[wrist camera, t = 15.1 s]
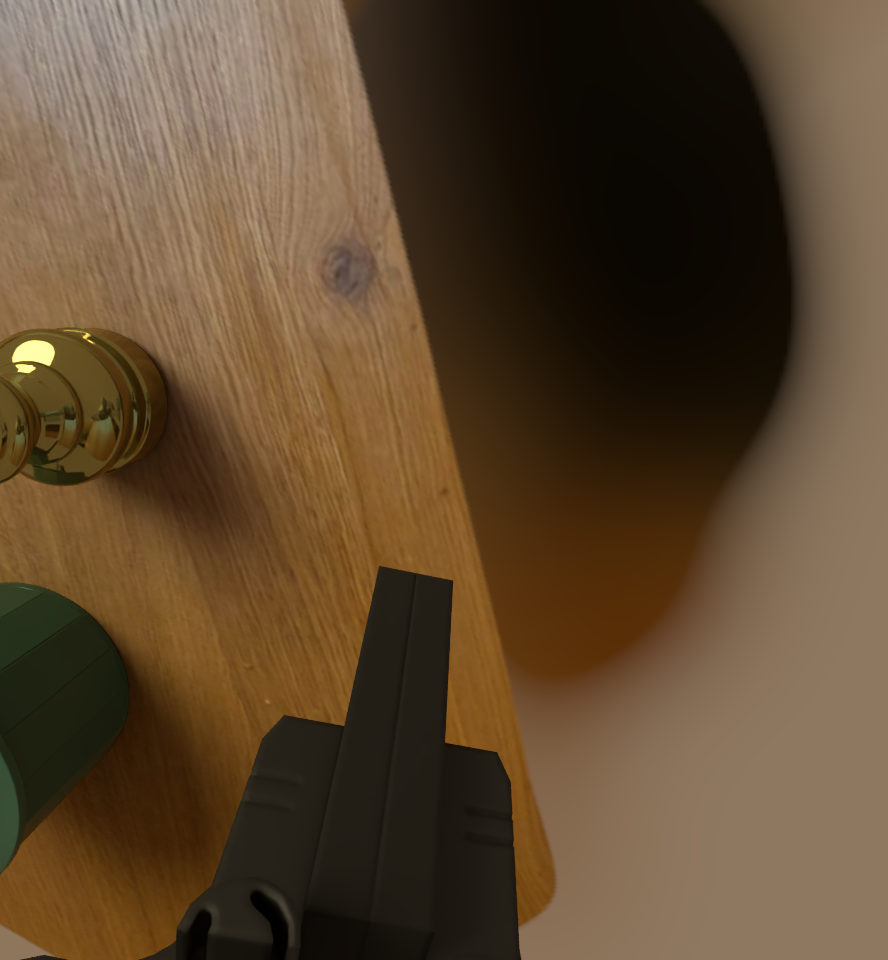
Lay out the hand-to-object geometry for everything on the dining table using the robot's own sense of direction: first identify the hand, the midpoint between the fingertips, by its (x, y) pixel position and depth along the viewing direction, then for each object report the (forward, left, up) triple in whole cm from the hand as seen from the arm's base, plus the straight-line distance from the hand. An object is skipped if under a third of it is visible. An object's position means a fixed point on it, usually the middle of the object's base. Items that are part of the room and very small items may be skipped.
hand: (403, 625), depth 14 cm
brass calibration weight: (+15, +13, -21) cm, 28 cm away
